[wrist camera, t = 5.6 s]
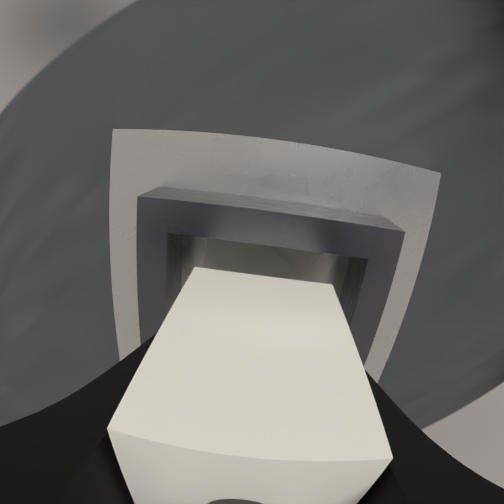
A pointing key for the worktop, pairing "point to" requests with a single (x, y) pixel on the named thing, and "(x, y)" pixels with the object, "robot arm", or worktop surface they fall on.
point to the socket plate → (264, 226)
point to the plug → (250, 399)
